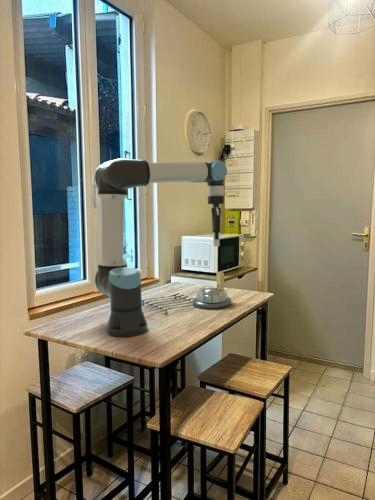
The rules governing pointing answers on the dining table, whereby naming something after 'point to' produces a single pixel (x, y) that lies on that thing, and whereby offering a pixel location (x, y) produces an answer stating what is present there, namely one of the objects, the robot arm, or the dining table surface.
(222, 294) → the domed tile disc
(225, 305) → the housing
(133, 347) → the dining table surface
